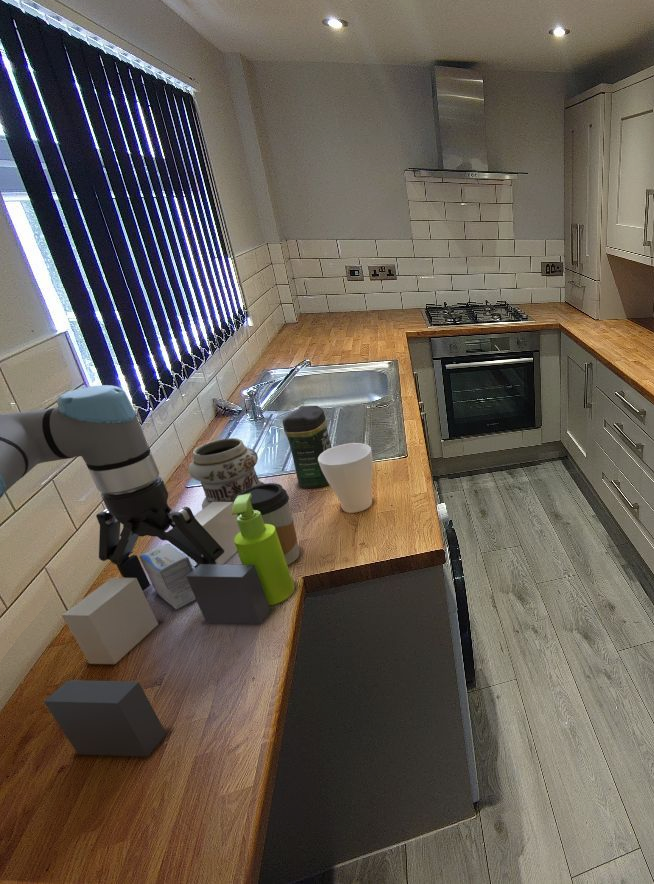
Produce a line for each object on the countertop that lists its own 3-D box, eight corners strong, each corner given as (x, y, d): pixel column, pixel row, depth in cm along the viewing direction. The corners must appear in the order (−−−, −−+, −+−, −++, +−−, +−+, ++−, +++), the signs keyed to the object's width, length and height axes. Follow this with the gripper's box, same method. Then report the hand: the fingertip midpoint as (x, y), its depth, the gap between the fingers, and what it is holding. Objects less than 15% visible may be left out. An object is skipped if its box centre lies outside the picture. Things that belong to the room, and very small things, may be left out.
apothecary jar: (243, 503, 119) (218, 431, 112) (289, 509, 117) (267, 435, 109) (196, 534, 108) (165, 457, 101) (246, 541, 106) (217, 462, 98)
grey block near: (79, 757, 65) (43, 701, 61) (101, 734, 68) (67, 679, 64) (149, 759, 65) (117, 703, 61) (168, 736, 68) (139, 681, 63)
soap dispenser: (253, 616, 87) (214, 514, 79) (259, 590, 93) (224, 492, 84) (293, 606, 89) (259, 505, 81) (296, 581, 95) (265, 485, 86)
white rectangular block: (90, 666, 78) (61, 615, 74) (136, 626, 85) (111, 577, 81) (116, 667, 78) (88, 615, 74) (159, 626, 85) (136, 577, 81)
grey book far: (206, 625, 85) (185, 576, 81) (219, 611, 88) (200, 563, 84) (260, 626, 85) (242, 577, 81) (271, 612, 88) (254, 564, 83)
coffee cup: (298, 542, 105) (278, 477, 99) (312, 560, 100) (292, 493, 94) (251, 561, 100) (227, 493, 94) (263, 581, 95) (238, 511, 88)
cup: (384, 491, 123) (373, 440, 117) (381, 515, 114) (369, 460, 108) (335, 499, 120) (321, 446, 115) (329, 524, 111) (313, 468, 105)
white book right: (199, 570, 98) (180, 525, 94) (228, 544, 105) (212, 501, 101) (220, 570, 98) (202, 525, 94) (247, 544, 105) (232, 501, 101)
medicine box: (206, 597, 91) (189, 556, 88) (176, 612, 88) (157, 571, 84) (185, 581, 95) (168, 541, 92) (156, 595, 92) (137, 555, 88)
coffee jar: (330, 489, 125) (311, 417, 117) (295, 491, 124) (273, 419, 116) (343, 469, 133) (327, 401, 126) (311, 471, 133) (292, 403, 125)
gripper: (223, 472, 85) (260, 577, 94) (78, 471, 86) (128, 575, 95) (188, 496, 78) (232, 607, 87) (31, 495, 79) (90, 605, 88)
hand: (178, 591), depth 91 cm, fingers open, 12 cm apart
